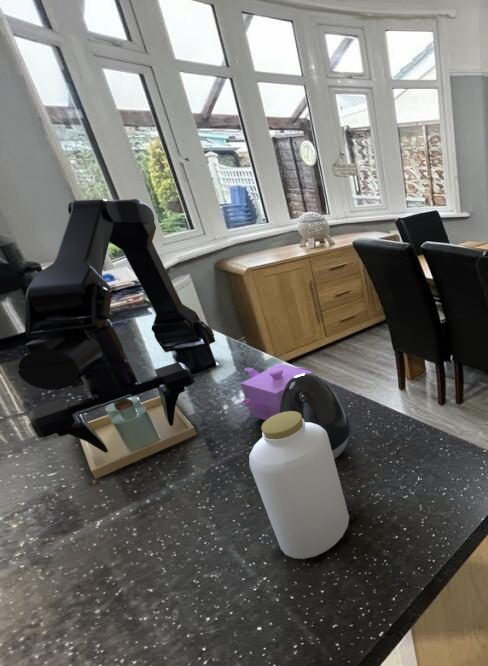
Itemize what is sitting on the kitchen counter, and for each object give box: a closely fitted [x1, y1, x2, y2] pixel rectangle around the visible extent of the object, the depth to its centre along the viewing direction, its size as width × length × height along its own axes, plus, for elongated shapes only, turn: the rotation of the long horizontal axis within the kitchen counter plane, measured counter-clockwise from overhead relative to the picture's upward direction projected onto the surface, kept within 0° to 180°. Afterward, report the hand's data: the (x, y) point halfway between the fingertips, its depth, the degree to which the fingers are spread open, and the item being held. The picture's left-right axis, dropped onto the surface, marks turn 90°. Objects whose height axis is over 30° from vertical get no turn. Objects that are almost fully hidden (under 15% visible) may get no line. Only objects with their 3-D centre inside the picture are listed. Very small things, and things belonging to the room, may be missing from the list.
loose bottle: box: [111, 399, 161, 454], centre depth 66 cm, size 4×4×9 cm
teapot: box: [240, 363, 315, 421], centre depth 73 cm, size 18×13×10 cm
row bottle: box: [104, 396, 143, 421], centre depth 69 cm, size 4×4×9 cm
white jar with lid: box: [248, 411, 350, 560], centre depth 48 cm, size 8×8×18 cm
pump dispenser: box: [279, 373, 352, 460], centre depth 62 cm, size 10×10×15 cm
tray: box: [79, 395, 198, 479], centre depth 71 cm, size 13×18×2 cm
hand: (140, 437), depth 67 cm, fingers open, 8 cm apart
